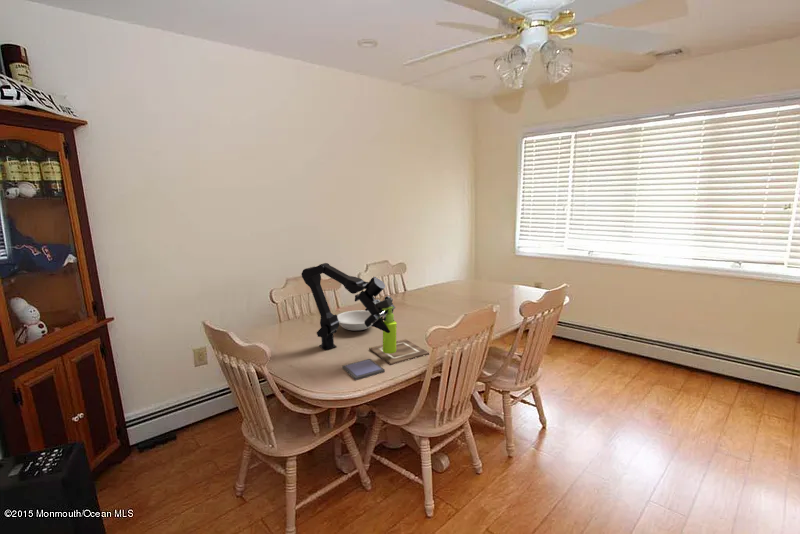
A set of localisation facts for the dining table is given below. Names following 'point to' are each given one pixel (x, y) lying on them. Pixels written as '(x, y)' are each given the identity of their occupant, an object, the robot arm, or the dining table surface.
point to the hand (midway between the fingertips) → (392, 330)
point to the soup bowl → (354, 319)
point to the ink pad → (363, 369)
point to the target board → (400, 352)
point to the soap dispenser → (390, 337)
